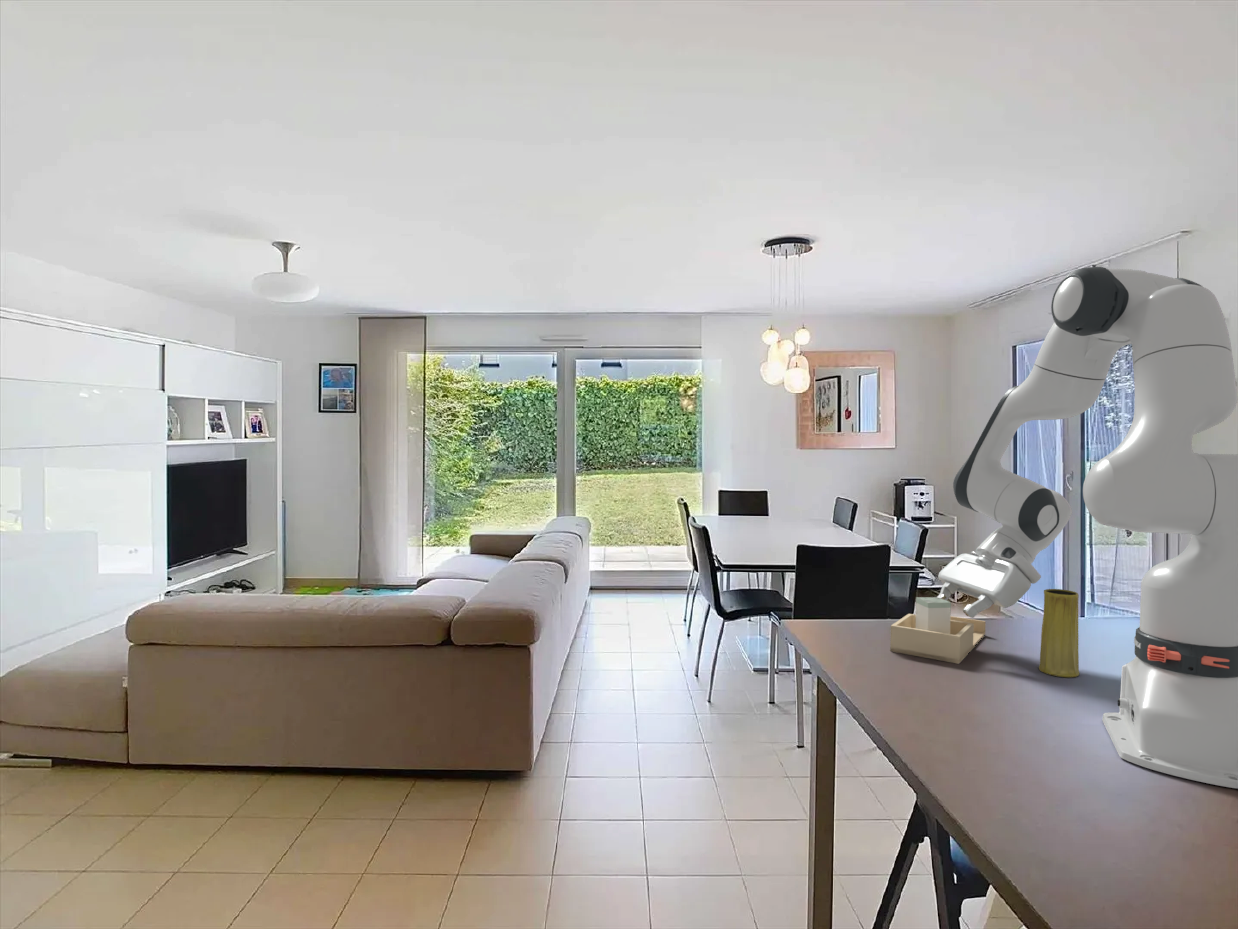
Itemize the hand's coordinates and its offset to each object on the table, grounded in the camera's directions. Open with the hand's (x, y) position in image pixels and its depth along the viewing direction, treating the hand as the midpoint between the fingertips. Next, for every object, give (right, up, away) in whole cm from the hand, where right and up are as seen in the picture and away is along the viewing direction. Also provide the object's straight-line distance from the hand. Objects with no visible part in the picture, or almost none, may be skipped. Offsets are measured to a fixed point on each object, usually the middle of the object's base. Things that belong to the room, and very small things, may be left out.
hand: (952, 609), depth 137 cm
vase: (+13, -9, -13) cm, 20 cm away
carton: (-4, -7, 0) cm, 8 cm away
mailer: (0, -8, +5) cm, 9 cm away
